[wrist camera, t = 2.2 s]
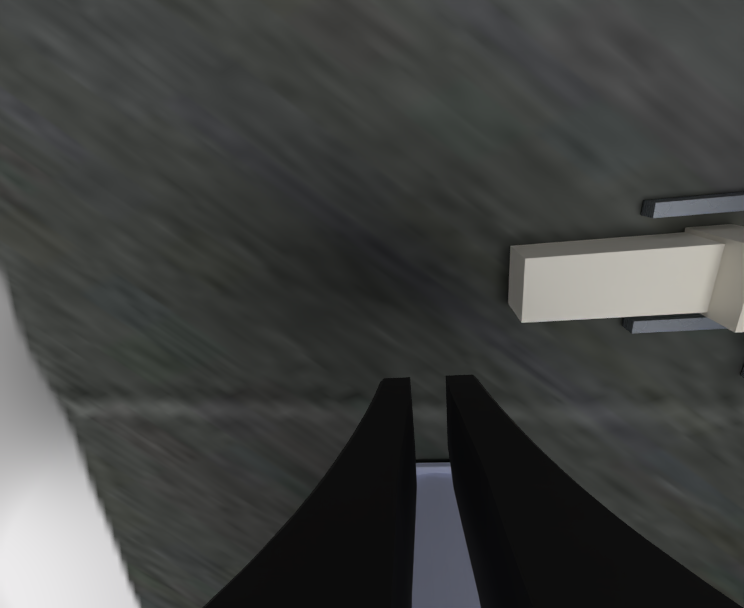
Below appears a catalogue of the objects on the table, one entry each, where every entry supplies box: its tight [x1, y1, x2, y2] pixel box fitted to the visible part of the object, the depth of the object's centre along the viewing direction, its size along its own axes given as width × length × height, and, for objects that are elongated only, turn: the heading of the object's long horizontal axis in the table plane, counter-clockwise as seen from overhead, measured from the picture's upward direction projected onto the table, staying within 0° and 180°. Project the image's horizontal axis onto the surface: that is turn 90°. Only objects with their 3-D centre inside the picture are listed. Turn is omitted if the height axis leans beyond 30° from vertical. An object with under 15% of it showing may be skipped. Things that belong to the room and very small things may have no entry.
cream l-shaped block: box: [508, 224, 744, 333], centre depth 15 cm, size 10×3×4 cm, turn 96°
